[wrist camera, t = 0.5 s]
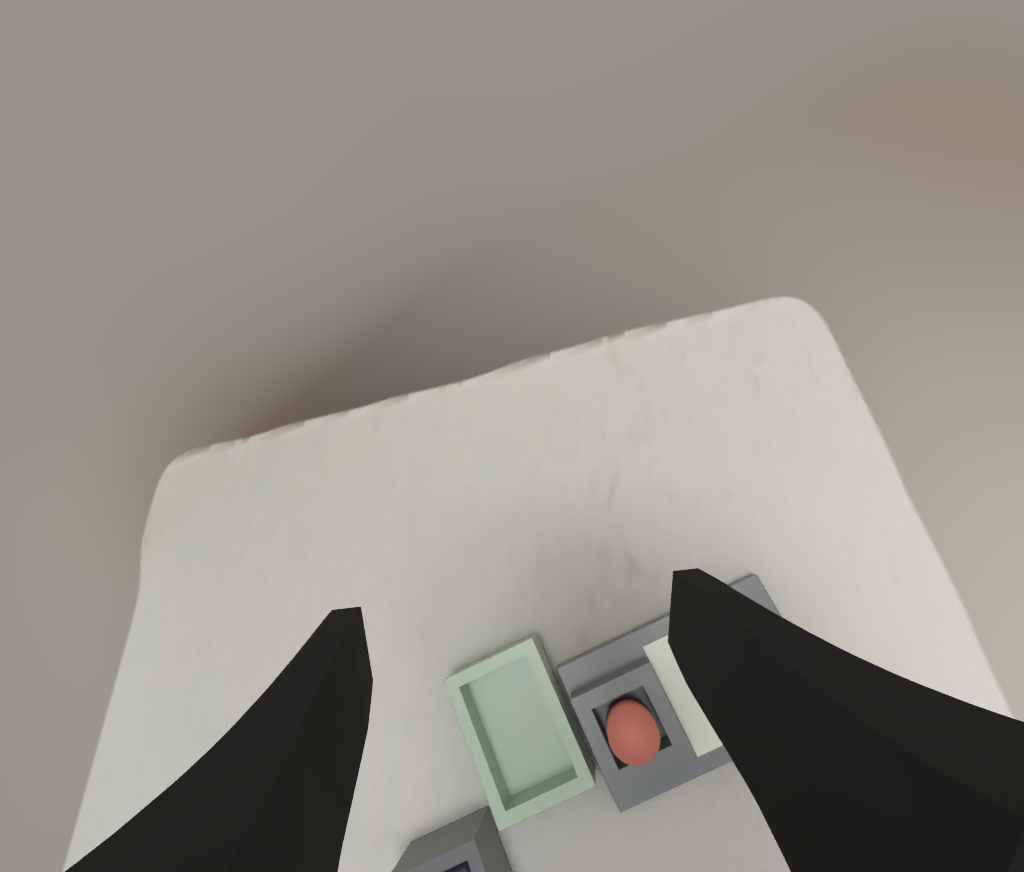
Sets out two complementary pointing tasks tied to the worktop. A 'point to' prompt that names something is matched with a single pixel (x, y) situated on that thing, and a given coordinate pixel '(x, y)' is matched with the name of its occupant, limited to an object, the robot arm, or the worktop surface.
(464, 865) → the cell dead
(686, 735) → the cradle
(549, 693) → the trough
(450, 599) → the worktop surface
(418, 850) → the bin
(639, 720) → the test button
